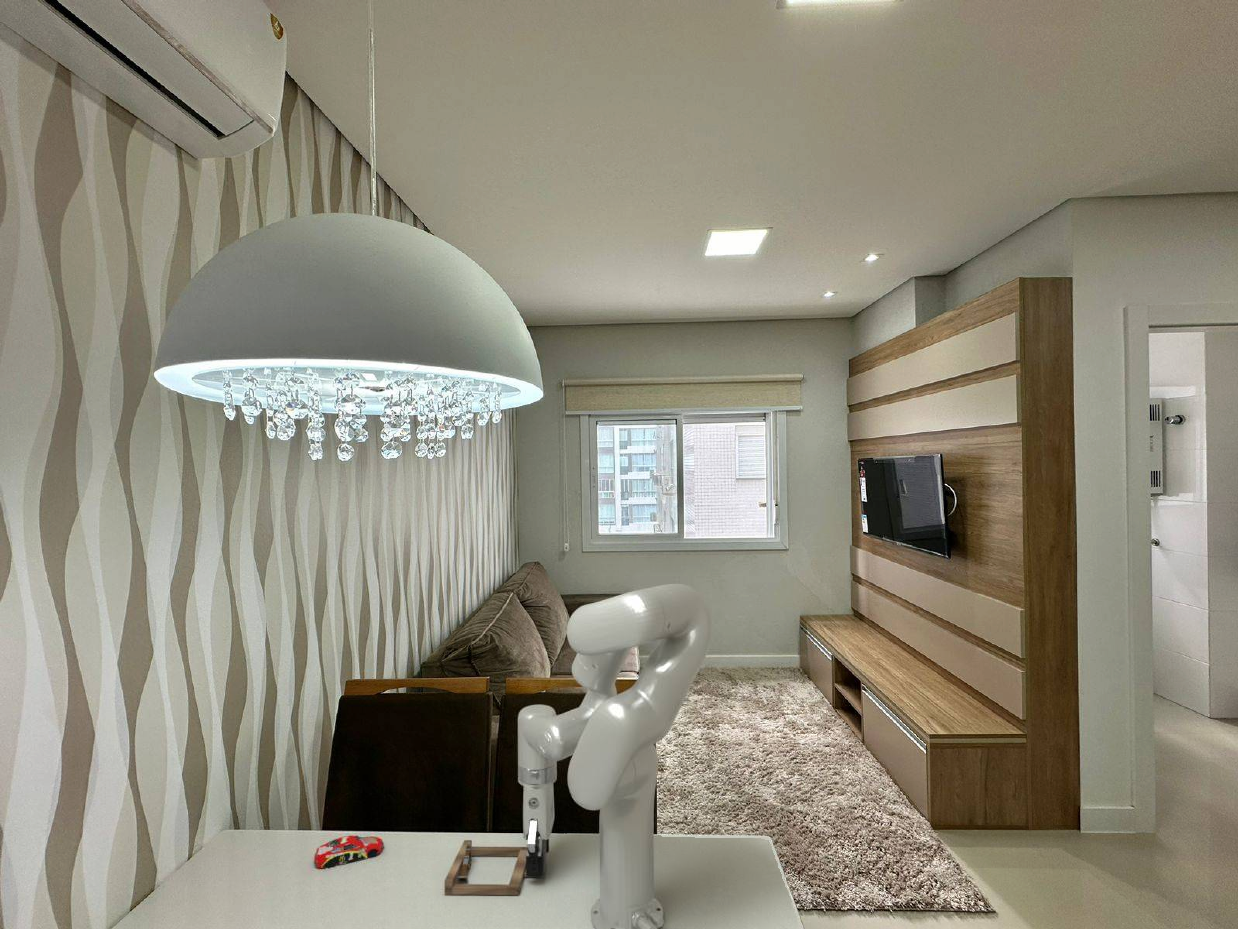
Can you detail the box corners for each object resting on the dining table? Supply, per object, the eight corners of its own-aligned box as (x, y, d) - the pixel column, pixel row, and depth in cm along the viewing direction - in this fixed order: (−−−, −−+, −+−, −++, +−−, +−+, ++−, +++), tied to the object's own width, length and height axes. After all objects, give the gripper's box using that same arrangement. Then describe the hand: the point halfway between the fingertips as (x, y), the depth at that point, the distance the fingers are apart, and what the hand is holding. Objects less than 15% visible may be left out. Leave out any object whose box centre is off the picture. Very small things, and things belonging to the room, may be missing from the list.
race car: (382, 844, 144) (382, 825, 144) (385, 857, 139) (385, 837, 139) (314, 859, 138) (314, 839, 138) (314, 873, 133) (315, 852, 134)
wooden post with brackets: (475, 855, 137) (473, 839, 136) (468, 893, 130) (466, 877, 128) (466, 855, 137) (464, 839, 136) (459, 893, 130) (457, 877, 128)
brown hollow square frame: (540, 895, 125) (539, 856, 125) (444, 894, 125) (444, 856, 125) (550, 853, 139) (550, 818, 139) (464, 852, 140) (464, 818, 140)
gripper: (550, 792, 124) (551, 890, 123) (561, 754, 141) (562, 840, 141) (510, 791, 124) (510, 890, 123) (525, 754, 141) (526, 840, 141)
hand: (537, 863), depth 132 cm, fingers open, 7 cm apart
